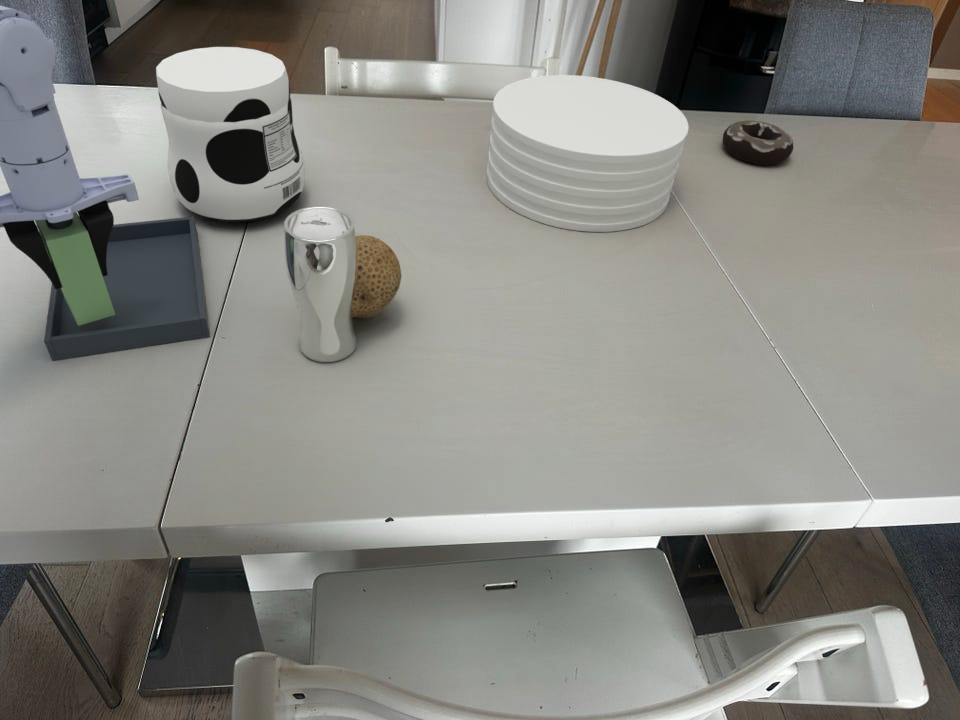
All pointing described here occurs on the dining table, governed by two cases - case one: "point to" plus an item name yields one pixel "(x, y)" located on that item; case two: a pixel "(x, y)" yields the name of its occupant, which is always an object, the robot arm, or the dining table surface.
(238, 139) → the milk container
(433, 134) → the dining table surface
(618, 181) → the plate stack
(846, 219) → the dining table surface
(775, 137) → the donut
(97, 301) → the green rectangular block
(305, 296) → the beer glass
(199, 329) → the dark grey tray
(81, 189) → the robot arm
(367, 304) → the natural sponge
